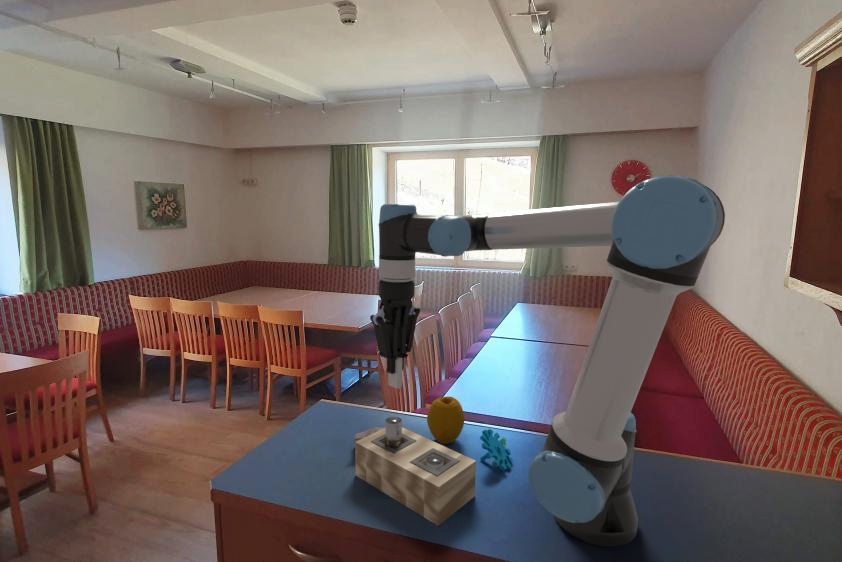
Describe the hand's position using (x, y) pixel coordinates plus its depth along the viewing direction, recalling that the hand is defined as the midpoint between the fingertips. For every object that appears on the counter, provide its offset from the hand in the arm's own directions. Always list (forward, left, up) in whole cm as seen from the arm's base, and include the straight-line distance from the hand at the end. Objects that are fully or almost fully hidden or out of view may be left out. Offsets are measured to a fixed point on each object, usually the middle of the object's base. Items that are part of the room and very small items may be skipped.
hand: (395, 385), depth 97 cm
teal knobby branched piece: (-14, -20, -21) cm, 32 cm away
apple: (+1, -20, -21) cm, 29 cm away
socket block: (-6, 0, -21) cm, 22 cm away
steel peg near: (-12, 0, -21) cm, 24 cm away
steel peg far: (0, 0, -16) cm, 16 cm away
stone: (+11, -4, -22) cm, 25 cm away
